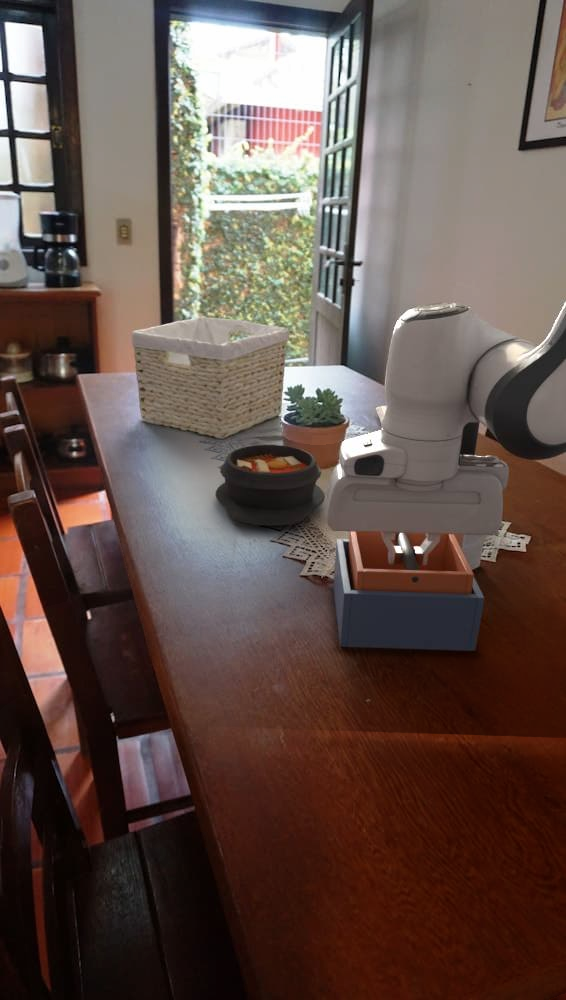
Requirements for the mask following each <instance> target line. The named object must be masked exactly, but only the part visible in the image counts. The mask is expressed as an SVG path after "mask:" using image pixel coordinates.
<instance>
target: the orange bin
mask: <svg viewBox="0 0 566 1000" xmlns="http://www.w3.org/2000/svg"><path fill="white" fill-rule="evenodd" d="M348 537H349V538H348V539H349V548H348V561H347V570H348V576H349V582H350V589H351V590H359V591H390V592H421V593H451V594H471V591H472V585H473V579H474V578H475V574H474V571H473V570H471V568H470V566H469V564H468V562H467V560H466V558H465V556H464V554H463V552H462V550H461V548H460V546H459V544H458V542H457V540H456V538H455V536H454V534H440V541H439V543H438V544H437V545H436V546H435V547H434V549H433V550H432V551H431V552H430V553H428V559H427V565H418V564H417V561H416V558H415V556H414V553H413V547H420V546H421V544H422V543H423V542H424V540H425V539H426V538H427V537H426V534H425V533H395V539H394V540H391V541H392V542H393V544H394V546H401V548H402V551H403V557H402V564H401V565H391V564H389V562H388V548H387V546H386V545H385V543H384V541H383V538H382V535H381V532H353V531H349V536H348Z"/></svg>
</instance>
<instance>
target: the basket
mask: <svg viewBox="0 0 566 1000" xmlns="http://www.w3.org/2000/svg"><path fill="white" fill-rule="evenodd" d="M232 334H234V335H236V336H239V335H245V336H247V337H243V338H238V339H235V340H232V341H231V336H232ZM289 338H290V330H289V329H288V328H286V327H284V326H275V325H268V324H261V323H256V322H253V321H247V320H246V321H245V320H243V319H234V318H219V317H207V316H206V315H203V316H196V317H194V318H190V319H183V320H177V321H173V322H170V323H169V322H168V323H165V324H161V325H156V326H151V327H147V328H141V329H135V330H133V331H132V333H131V344H132V347H133V352H134V361H135V369H136V370H135V374H136V381H137V389H138V390H137V392H138V403H139V404H138V405H139V406H138V407H139V412H140V418H141V420H142V422H145V423H149V424H153V425H155V424H156V425H159V426H164V427H172V428H175V429H180V430H182V431H191V432H194V433H196V432H197V433H198V434H199V435H207V436H209V437H214V438H215V439H219V440H223V439H225V438H228V437H229V436H233V435H235V434H237V433H239V432H240V431H243V430H248V429H250V428H252V427H253V426H254V425H258V424H261V423H263V422H265V421H266V420H270V419H273V418H275V417H277V416H280V415H281V414H282V406H283V392H284V379H285V378H284V377H285V366H286V365H285V364H286V355H287V345H288V340H289Z"/></svg>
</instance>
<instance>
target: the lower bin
mask: <svg viewBox="0 0 566 1000" xmlns="http://www.w3.org/2000/svg"><path fill="white" fill-rule="evenodd" d="M348 548H349V538H336V542H335V557H334V573H333V586H332V587H333V596H334V605H335V611H336V612H335V613H336V620H337V621H336V622H337V630H338V631H337V632H338V640H339V646H340V647H342V648H343V647H345V648H347V647H348V648H375V649H376V648H378V649H379V648H380V649H408V650H409V649H410V650H411V649H412V650H439V651H441V650H442V651H471V652H472V651H473V652H475V651H476V649H477V644H478V638H479V631H480V627H481V620H482V615H483V614H482V613H483V608H484V603H485V596H484V594H483V592H482V590H481V588H480V586H479V584H478V582H477V580H476V578H475V577H474V579H473V585H472V591H471V594H451V593H421V592H390V591H359V590H351V589H350V582H349V576H348V570H347V561H348Z"/></svg>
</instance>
